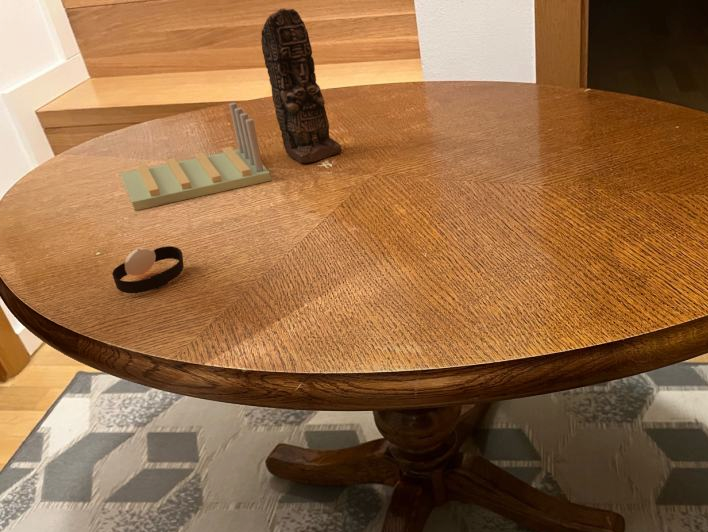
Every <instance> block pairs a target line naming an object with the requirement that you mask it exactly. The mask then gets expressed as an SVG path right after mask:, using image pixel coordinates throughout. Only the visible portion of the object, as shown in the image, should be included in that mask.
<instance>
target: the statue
mask: <svg viewBox="0 0 708 532" xmlns="http://www.w3.org/2000/svg"><path fill="white" fill-rule="evenodd" d="M260 33H261V39H260V43H261V51H262V55H263V59H264V64H265V65H264V66H265V68H266V70H267V71H266V72H267V75H268V77H269V84H270V86H271V97H272V101H273V106H274V108H275V109H274V110H275V111H274V113H275V116H276V121H277V123H278V126H279V130H280V131H281V139H282V145H283V147H284V149H285V153H286V154H287V155H288V156H289V157H290V158H291V159H292V160H295V161H297V162H299V164H310V163H313V162H314V163H315V162H318V161H320V160H321V161H322V160H323V159H326V158H329V157H331V156H335V155H338V154H340V153H341V152H342V145H341V144H340V143H339V142H338V141H336V140H335V139H333V138H332V137H330V122H329V119H328V116H327V111H326V106H325V104H326V102H325V98H324V96H323V93H322V91H321V87H320V86H319V84H318V83H317V76H316V73H315V71H316V68H315V60H314V57H313V56H312V55H313V49H312V45H311V42H310V36H309V31H308V30H307V28H306V24H305V22H304V20H303V19H302V17H301V15H300V13H298V11H297V10H296V9H294V8H289V9H286V8H280V9H277V10H276V11H275V12H273V13H271V14H270V15H269V16H268V17H267V18H266V20H265V22H264V24H263V27H262V29H261V32H260Z"/></svg>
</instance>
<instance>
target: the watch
mask: <svg viewBox="0 0 708 532" xmlns="http://www.w3.org/2000/svg"><path fill="white" fill-rule="evenodd" d="M163 260H177V262H176V263H175V264H174V265H173V266H172V267H169V268H168V269H165V270H164V271H161V272H159V273H157V274H154V275H151V276H150V277H148V278H143V279H140V280H139V279H138V280H131V281H128V280H122V279H123V278H124V277H126V276H129V275H131V276H133V277H140V276H143V275H145V274H147V273H148V272H149V271H151V269H152V267H153V266H154V264H155V263H157V262H159V261H163ZM124 261H125V262H122V263H121V264H120V265H118V266H116V267H115V268H114V270H113V271H112V273H111V274H112V277H113V281H114V284H115V287H116V289H117V290H118V291H120V292H121V293H124V294H141V293H146V292H150V291H153V290H156V289H157V290H158V289H160V288H162V287H164V286H166V285H168V284H169V282H171V281H173V280H175V279H176V278H178V277H179V276H180V275H181V274H182V272H183V270H184V255H183V252H182V250H181V249H180V248H179V247H177V246H170V245H167V246H161V247H157V248H153V249H150V248H146V247H138V246H137V247H136V248H135V249H134V250H132V251H131V252H130V253H129V254H128V255H127V256H126V258H125V260H124Z"/></svg>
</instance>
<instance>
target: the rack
mask: <svg viewBox="0 0 708 532" xmlns="http://www.w3.org/2000/svg"><path fill="white" fill-rule="evenodd" d="M228 106H229V110H230V114H231V119H232V124H233V129H234V132H235V138H236V142H237V147H238V149H234V148H233V147H232V146H226V147H222V152H219V153H215V154H209V155H206V154H205V152H204V151H203V152H197V153H194V156H195V157H194V158H189V159H185V160H179V161H177V159H176V157H172V158H166V159H165V162H166V163H164V164H160V165H154V166H149V167H148V165H147V164H146V163H141V164H137V165H136V167H137V169H134V170H129V171H125V172H120V173H119V175H120V178H121V181H122V184H123V186H124V189H125V191H126V194H127V196H128V198H129V201H130V202H131V205H132V207H133V210H134V212H135V211H140V210H145V209H149V208H154V207H158V206H163V205H167V204H172V203H177V202H180V201H185V200H190V199H195V198H199V197H203V196H207V195H213V194H217V193H221V192H226V191H231V190H235V189H239V188H244V187H249V186H253V185H257V184H262V183H267V182H271V181H272V176H271V172H270V171H269V169H267V168H266V166H265V165H264V164H263V161H262V155H261V151H260V147H259V146H260V145H259V142H258V137H257V132H256V127H255V121H254V118H249V115H248V113H247V112H243V109H242V108H243V107H238V105H237V103H236V102H230V103H229V104H228Z"/></svg>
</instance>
